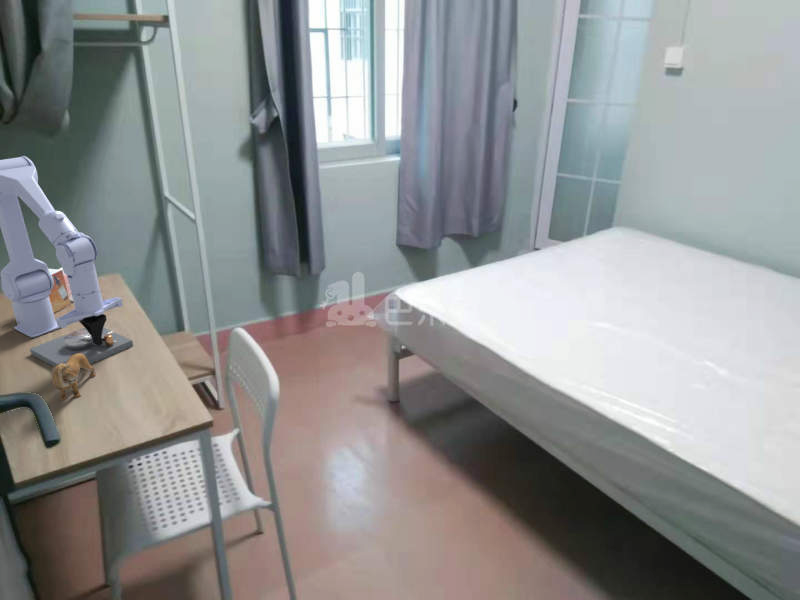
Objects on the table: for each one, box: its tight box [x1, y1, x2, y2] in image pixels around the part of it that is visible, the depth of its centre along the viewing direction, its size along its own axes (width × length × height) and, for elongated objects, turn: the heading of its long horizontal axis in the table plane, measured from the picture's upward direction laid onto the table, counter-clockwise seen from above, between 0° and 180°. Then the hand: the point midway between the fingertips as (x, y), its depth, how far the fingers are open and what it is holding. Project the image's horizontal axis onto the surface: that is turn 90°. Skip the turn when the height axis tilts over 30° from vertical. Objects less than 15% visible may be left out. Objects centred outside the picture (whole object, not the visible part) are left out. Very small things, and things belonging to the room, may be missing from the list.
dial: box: [64, 329, 114, 350], centre depth 135 cm, size 11×6×2 cm, turn 86°
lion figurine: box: [50, 353, 96, 401], centre depth 119 cm, size 15×5×9 cm, turn 14°
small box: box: [48, 268, 71, 314], centre depth 156 cm, size 8×6×10 cm
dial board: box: [29, 327, 134, 370], centre depth 136 cm, size 16×16×2 cm
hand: (98, 343), depth 133 cm, fingers closed, pressing on dial
